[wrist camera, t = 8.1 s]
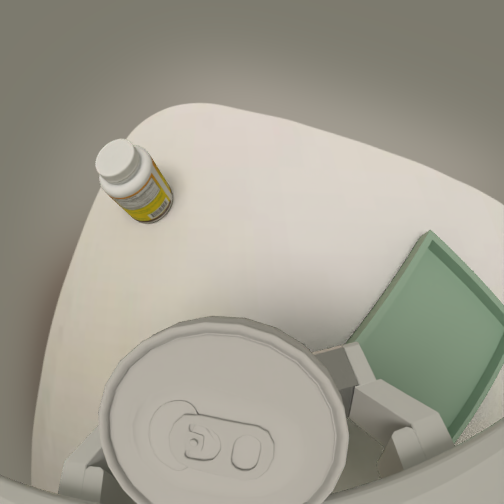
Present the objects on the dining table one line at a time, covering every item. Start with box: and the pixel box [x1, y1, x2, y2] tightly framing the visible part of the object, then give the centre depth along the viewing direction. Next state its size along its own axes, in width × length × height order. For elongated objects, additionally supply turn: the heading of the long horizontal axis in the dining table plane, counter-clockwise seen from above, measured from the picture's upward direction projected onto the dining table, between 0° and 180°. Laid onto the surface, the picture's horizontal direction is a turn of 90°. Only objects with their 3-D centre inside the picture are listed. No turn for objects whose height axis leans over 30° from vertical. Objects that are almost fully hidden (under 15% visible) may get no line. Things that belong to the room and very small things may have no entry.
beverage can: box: [98, 316, 349, 504], centre depth 10 cm, size 5×5×12 cm
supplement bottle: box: [95, 139, 172, 223], centre depth 29 cm, size 6×6×10 cm
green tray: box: [346, 230, 504, 443], centre depth 27 cm, size 18×18×3 cm
